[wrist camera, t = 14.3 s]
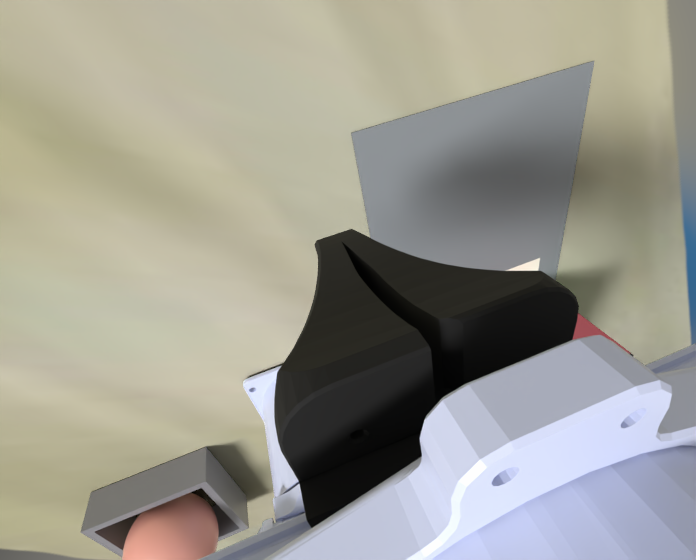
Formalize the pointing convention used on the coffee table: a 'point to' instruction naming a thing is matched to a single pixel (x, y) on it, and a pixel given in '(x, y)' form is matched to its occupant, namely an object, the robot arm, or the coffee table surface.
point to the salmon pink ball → (174, 531)
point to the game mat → (479, 175)
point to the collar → (164, 498)
